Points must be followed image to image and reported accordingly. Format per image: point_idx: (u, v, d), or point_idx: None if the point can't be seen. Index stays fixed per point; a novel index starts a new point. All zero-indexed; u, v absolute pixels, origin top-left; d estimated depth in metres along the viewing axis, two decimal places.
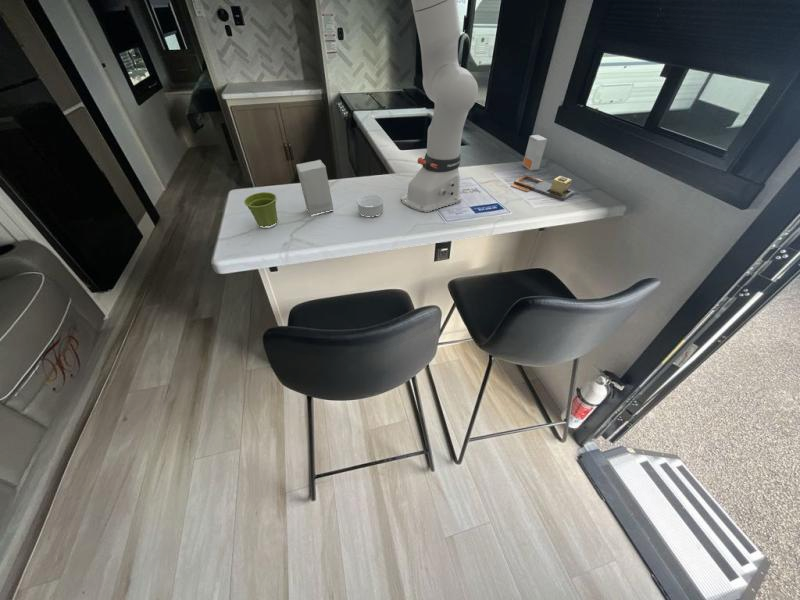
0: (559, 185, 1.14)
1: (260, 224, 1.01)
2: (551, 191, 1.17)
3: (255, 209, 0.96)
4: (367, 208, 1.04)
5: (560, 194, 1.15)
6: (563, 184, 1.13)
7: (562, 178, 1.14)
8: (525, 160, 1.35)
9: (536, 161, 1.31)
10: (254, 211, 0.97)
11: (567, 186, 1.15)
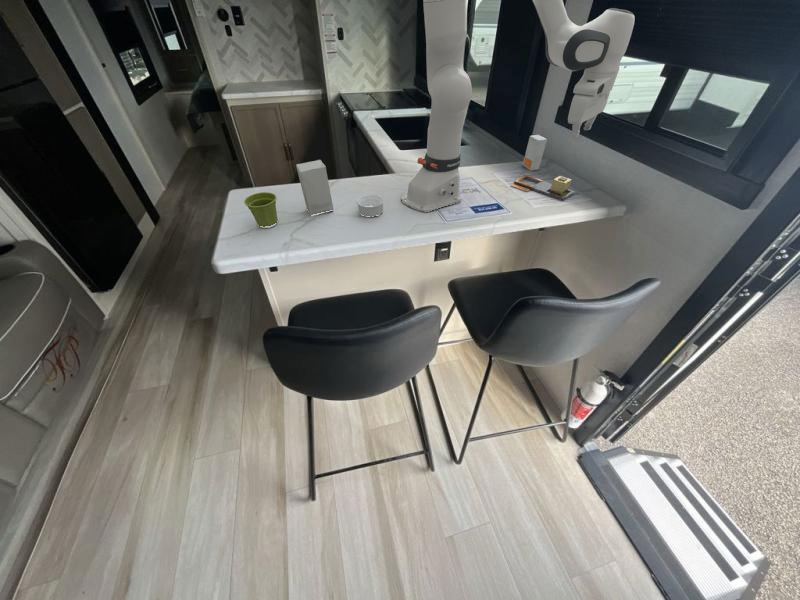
0: (559, 185, 1.14)
1: (260, 224, 1.01)
2: (551, 191, 1.17)
3: (255, 209, 0.96)
4: (367, 208, 1.04)
5: (560, 194, 1.15)
6: (563, 184, 1.13)
7: (562, 178, 1.14)
8: (525, 160, 1.35)
9: (536, 161, 1.31)
10: (254, 211, 0.97)
11: (567, 186, 1.15)
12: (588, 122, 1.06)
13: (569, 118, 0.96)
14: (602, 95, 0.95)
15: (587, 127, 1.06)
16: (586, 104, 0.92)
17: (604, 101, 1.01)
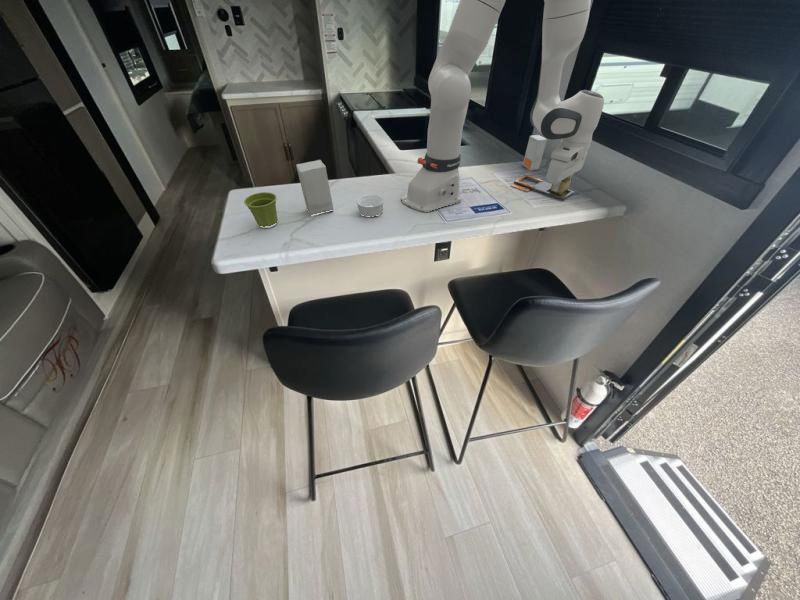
0: None
1: (260, 224, 1.01)
2: (551, 191, 1.17)
3: (255, 209, 0.96)
4: (367, 208, 1.04)
5: (560, 194, 1.15)
6: (563, 184, 1.13)
7: None
8: (525, 160, 1.35)
9: (536, 161, 1.31)
10: (254, 211, 0.97)
11: (567, 186, 1.15)
12: None
13: (547, 179, 1.08)
14: (577, 160, 1.07)
15: None
16: (561, 169, 1.04)
17: (581, 162, 1.13)
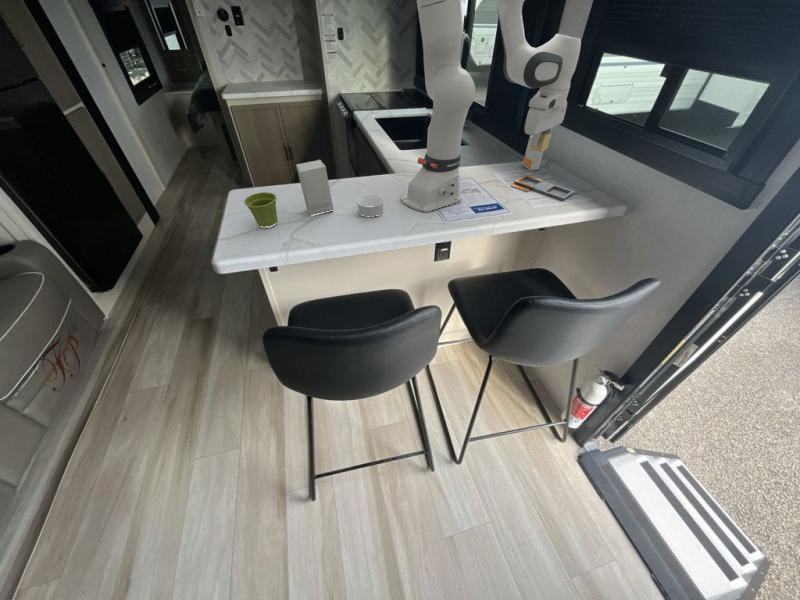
0: (539, 138, 1.11)
1: (260, 224, 1.01)
2: (531, 145, 1.14)
3: (255, 209, 0.96)
4: (367, 208, 1.04)
5: (540, 148, 1.13)
6: (543, 136, 1.10)
7: None
8: (525, 160, 1.35)
9: (536, 161, 1.31)
10: (254, 211, 0.97)
11: (547, 139, 1.12)
12: None
13: (525, 129, 1.06)
14: (556, 109, 1.04)
15: None
16: (539, 117, 1.01)
17: (561, 114, 1.11)
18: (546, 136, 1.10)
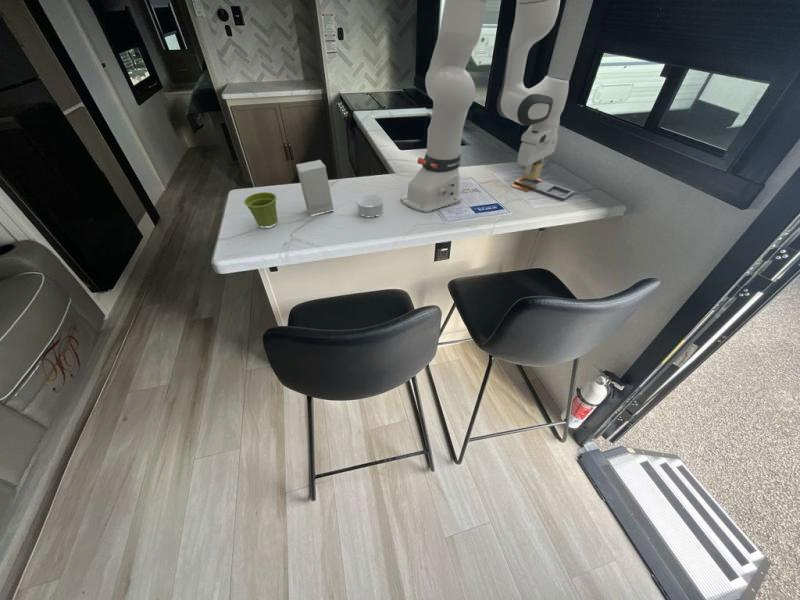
0: None
1: (260, 224, 1.01)
2: (524, 174, 1.22)
3: (255, 209, 0.96)
4: (367, 208, 1.04)
5: (533, 177, 1.20)
6: (535, 167, 1.17)
7: None
8: None
9: None
10: (254, 211, 0.97)
11: (539, 169, 1.19)
12: None
13: (518, 161, 1.13)
14: (546, 142, 1.11)
15: None
16: (530, 151, 1.08)
17: (552, 145, 1.18)
18: (538, 166, 1.17)
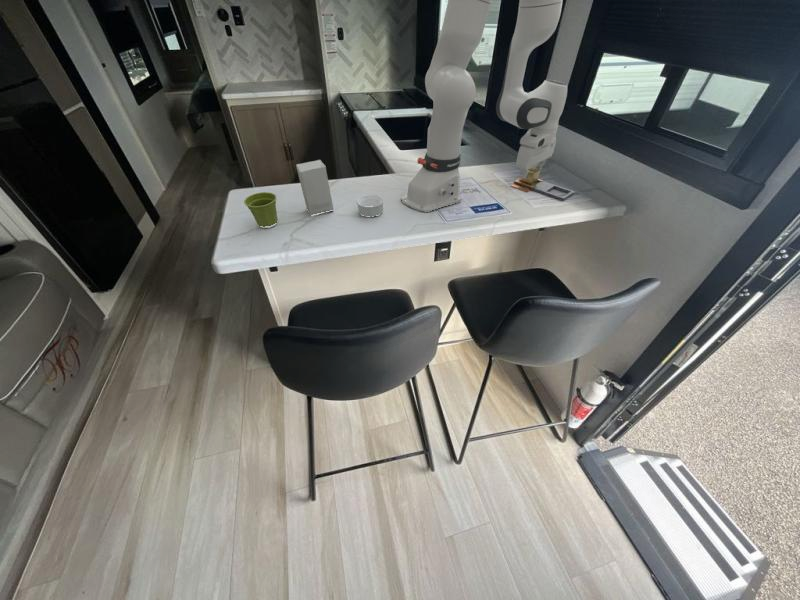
0: (528, 175, 1.20)
1: (260, 224, 1.01)
2: (522, 181, 1.23)
3: (255, 209, 0.96)
4: (367, 208, 1.04)
5: (530, 184, 1.22)
6: (532, 174, 1.19)
7: (531, 169, 1.20)
8: None
9: None
10: (254, 211, 0.97)
11: (536, 176, 1.21)
12: (538, 165, 1.23)
13: (516, 164, 1.14)
14: (545, 146, 1.12)
15: None
16: (529, 154, 1.09)
17: (550, 149, 1.19)
18: (535, 174, 1.19)
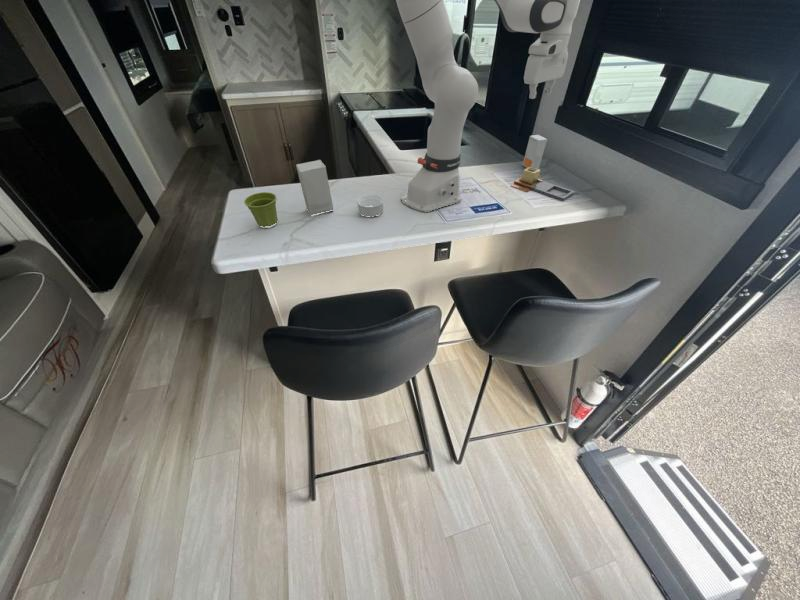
0: (528, 175, 1.20)
1: (260, 224, 1.01)
2: (522, 181, 1.23)
3: (255, 209, 0.96)
4: (367, 208, 1.04)
5: (530, 184, 1.22)
6: (532, 174, 1.19)
7: (531, 169, 1.20)
8: (525, 160, 1.35)
9: (536, 161, 1.31)
10: (254, 211, 0.97)
11: (536, 176, 1.21)
12: (548, 87, 1.13)
13: (524, 78, 1.03)
14: (556, 57, 1.02)
15: (547, 91, 1.13)
16: (538, 63, 0.99)
17: (562, 66, 1.08)
18: (535, 174, 1.19)
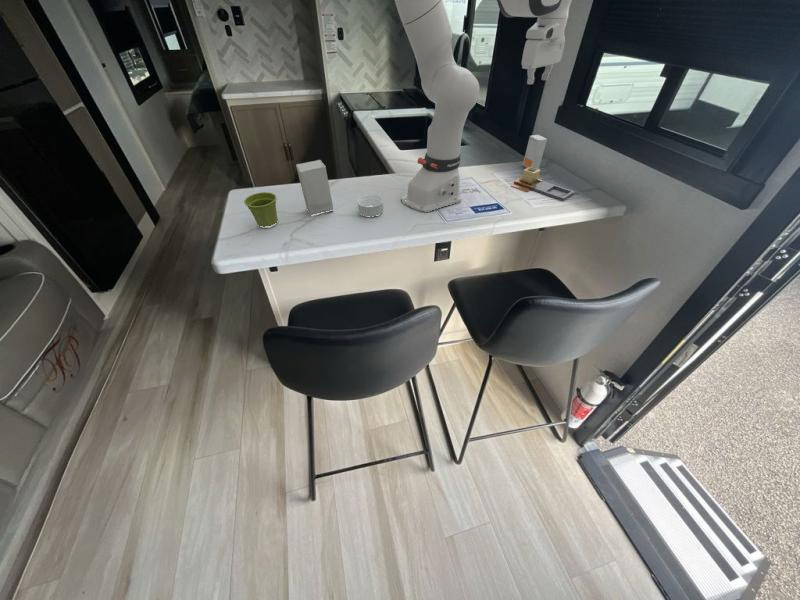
0: (528, 175, 1.20)
1: (260, 224, 1.01)
2: (522, 181, 1.23)
3: (255, 209, 0.96)
4: (367, 208, 1.04)
5: (530, 184, 1.22)
6: (532, 174, 1.19)
7: (531, 169, 1.20)
8: (525, 160, 1.35)
9: (536, 161, 1.31)
10: (254, 211, 0.97)
11: (536, 176, 1.21)
12: (545, 72, 1.13)
13: (522, 63, 1.03)
14: (553, 42, 1.02)
15: (544, 77, 1.13)
16: (536, 48, 0.99)
17: (559, 51, 1.09)
18: (535, 174, 1.19)
